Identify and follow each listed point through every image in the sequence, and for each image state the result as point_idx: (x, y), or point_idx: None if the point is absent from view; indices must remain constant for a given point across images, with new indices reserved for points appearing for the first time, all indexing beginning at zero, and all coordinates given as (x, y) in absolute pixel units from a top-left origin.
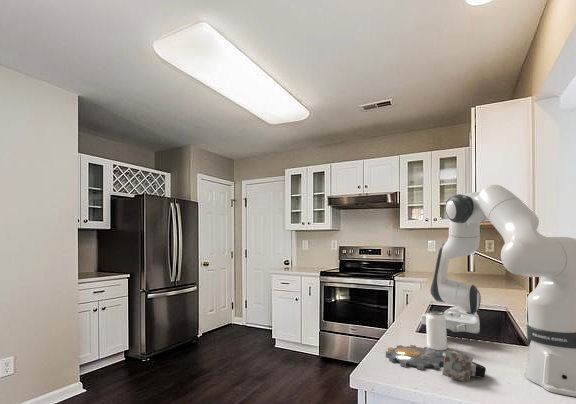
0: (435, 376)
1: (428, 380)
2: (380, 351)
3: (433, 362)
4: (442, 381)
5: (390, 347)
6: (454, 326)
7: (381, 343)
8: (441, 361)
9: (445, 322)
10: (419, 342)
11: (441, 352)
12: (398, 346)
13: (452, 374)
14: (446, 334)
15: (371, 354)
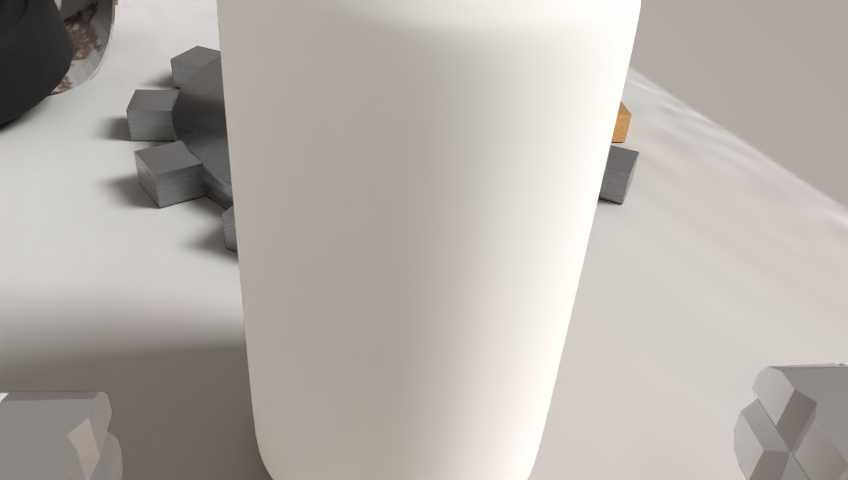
0: (169, 35)
1: (188, 8)
2: (652, 114)
3: (218, 66)
4: (121, 19)
5: (626, 113)
6: (83, 392)
7: (842, 214)
8: (171, 90)
9: (219, 35)
10: (717, 476)
11: (233, 208)
12: (612, 147)
13: (62, 1)
14: (241, 278)
15: (631, 71)
